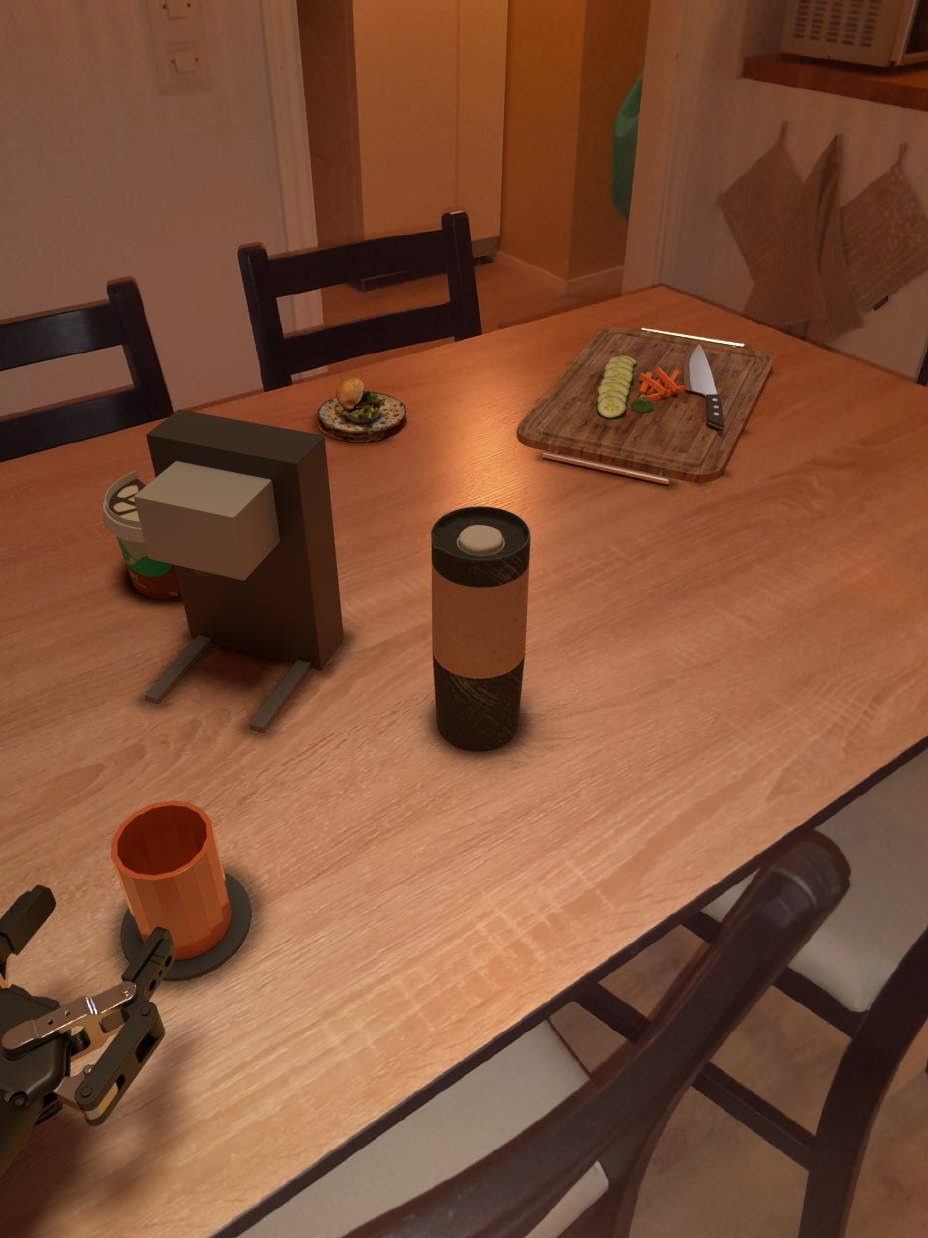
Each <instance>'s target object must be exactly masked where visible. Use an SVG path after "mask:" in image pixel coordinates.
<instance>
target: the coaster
mask: <svg viewBox="0 0 928 1238" xmlns="http://www.w3.org/2000/svg"><path fill="white" fill-rule="evenodd" d="M224 874H225V878H226V882H227V886H228V891H229V895H230V900H231V906H232V920H231V923H230V926H229V928H228V931H227V932H226V934H225V935H224V937H223V938H222V939H221V940H220V941H219V942H218V943H217V945H215V946H214V947H213V948H212V949H210V950H209V951H207V952H205V953H203V954H202V955H199V956H197V957H194V958H191V959H186V960H177V961H175V960H174V964H173V965H172V967H171V968H170V970H169V971H168V973H167V974H166V976H165V977H164V979H163V980H162V982H181V981H187V980H188V981H189V980H192V979H195V978H199V977H202V976H204V975H207V974H210V973H211V972H213V971H214V970H216V969H218V968H219V967H221V966H223V965H224V964H225V963H226V962H228V961H229V960H230V959H231V958H232V957H233V956H234V955H235V954H236V953H237V952H238V950H239V949H240V948H241V946H242V945H243V943H244V941H246V940H245V939H246V938H247V936H248V934H249V930H250V927H251V923H252V905H251V902H250V901H251V900H250V897H249V895H248V892H247V891H246V889H245V888H244V886H243V885H242V884H241V882H239V881H238V880H237V879H236V878H235V877H233V876H232V875H230V874H229V873H227V872H224ZM127 907H128V906H127ZM119 934H120V945H121V947H122V951H123V953H124V956H125V957H126V959H127V961H128V962H129V964H130V963H131V962H132V960H133V959H134V957H135V956H136V954H137V953H138V952H139V950H140V949H141V947H142V946H143V943H142V941H141V938H140V936H139V934H138V932H137V929H136V926H135V923H134V921H133V918H132V915H131V912H130V909H129V907H128V908H127V910H126V911H125V913H124V916H123V918H122V922H121V925H120V933H119Z"/></svg>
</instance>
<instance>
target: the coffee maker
mask: <svg viewBox="0 0 928 1238" xmlns="http://www.w3.org/2000/svg"><path fill="white" fill-rule="evenodd" d="M145 437H146V442H147V446H148V451H149V455H150V460H151V464H152V468H153V473H154V477H155V478H154V479H153V480H151V481H150V482H149V483H148V484H146V486H145V487H144V488H143V489H142V490H141V491H139V492H138V493H137V494H136V495H135V496H134V500H135V504H136V508H137V512H138V516H139V521H140V525H141V529H142V533H143V537H144V541H145V545H146V549H147V554H148V558H149V559H153V560H157V561H161V562H166V563H170V564H174V565H175V568H176V572H177V577H178V581H179V586H180V590H181V594H182V599H181V600H182V603H183V607H184V612H185V615H186V622H187V625H188V631H189V635H190V638H191V639H193V641H192V642H191V643H190V644H189V645H188V646H187V648H185V650H184V651H183V652H182V653H181V654H180V655H179V656H178V657H177V659H175V661H174V662H173V663H172V664H171V665H170V666H169V667H168V668H167V670H166V671H165V672H164V673H163V674H162V675H161V676H159V677H160V678H158V680H156V682H155V683H154V684H153V685H152V686H151V687H150V688H149V689H148V691H147V692H146V693H145V694H144V699H145V701H147V702H149V703H154V704H157V705H160V704H161V703H162V701H164V699H165V698H166V697H167V696H168V694H169V693H170V692H171V691H172V690H173V689H174V688H175V687H176V685H178V683H179V682H180V681H181V680H182V679H183V677H185V675H186V674H187V673H188V672H189V671H190V670H191V668H192V667H193V666H194V665H195V664H196V663H197V662H198V661H199V659H200V658H201V657H202V656H203V655H204V654H205V653H206V652H207V650H208V649H209V648H210V647H211V646H212V644H214V645H217V646H221V647H225V648H229V649H233V650H237V651H241V652H245V653H249V654H253V655H256V656H261V657H265V658H269V659H273V660H277V661H281V662H285V663H289V664H293V665H292V666H291V668H290V669H289V671H288V672H287V673H286V675H285V676H284V677H283V679H282V680H281V681H280V683H278V685H277V686H276V688H275V689H274V690H273V692H272V693H271V694H270V696H269V697H268V699H266V701H265V703H264V704H263V705H262V706H261V708H260V709H259V710H258V712H257V713H256V714H255V715H254V717H253V718H252V719H251V721H250V722H249V730H251V731H255V732H258V733H262V734H265V733H266V732H267V730H268V729H269V728H270V726H271V725H272V724H273V722H274V721H275V719H276V718H277V717H278V715H279V714H280V713H281V712H282V710H283V708H284V707H285V705H286V704H287V703H288V701H289V700H290V699H291V697H292V696H293V695H294V693H295V692H296V690H298V688H299V686H300V685H301V684H302V683H303V681H304V679H305V678H306V677H307V676H308V674H309V672H310V671H311V670H312V669H313V670H317V671H320V672H321V671H322V670H323V669H324V668H325V667H326V665H327V664H328V662H329V661H330V660H331V658H332V657H333V656H334V654H335V652H336V651H337V650H338V648H339V647H340V646H341V644H342V642H343V641H344V640H345V636H344V625H343V624H344V623H343V615H342V601H341V592H340V583H339V573H338V572H339V571H338V561H337V552H336V551H337V550H336V540H335V539H336V538H335V531H334V530H335V529H334V520H333V509H332V498H331V488H330V477H329V476H330V475H329V465H328V457H327V456H328V455H327V446H326V445H327V444H326V437H325V434H319V433H313V432H307V431H302V430H296V429H291V428H285V427H280V426H274V425H268V424H264V423H257V422H253V421H252V422H251V421H246V420H241V419H235V418H230V417H225V416H220V415H213V414H209V413H202V412H197V411H191V410H185V409H181V408H178V409H177V410H176V411H175V412H173V413H172V414H171V415H169V416H168V417H166V418H165V419H164V420H163V421H161V422H160V423H159V424H158V425H156V426H155V427H153V428H152V429H150V431H149V432H147V433H146V434H145Z"/></svg>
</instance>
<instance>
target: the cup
mask: <svg viewBox="0 0 928 1238" xmlns="http://www.w3.org/2000/svg"><path fill="white" fill-rule="evenodd" d="M110 858H111V859H110V860H111V861H112V864H113V867H114V870H115V872H116V875H117V878H118V880H119V884H120V887H121V889H122V892H123V895H124V898H125V901H126V903H127V907H129V909H130V912H131V915H132V918H133V921H134V923H135V926H136V929H137V932H138V934H139V936H140V938H141V941H142V943H143V944H144V943H145V942H146V940H147V939H148V937H149V936H150V934H151V933H152V932H153V930H154V929H155V928H156V927H157V926H159V927H162V928H165V929H168V930H170V933H171V936H172V939H173V942H174V951H175V954H176V955H175V961H177V960H186V959H191V958H194V957H197V956H199V955H202V954H203V953H205V952H207V951H209V950H210V949H212V948H213V947H214V946H215V945H217V943H218V942H219V941H220V940H221V939H222V938H223V937H224V935H225V934H226V932H227V931H228V928H229V926H230V923H231V920H232V906H231V900H230V895H229V891H228V886H227V882H226V878H225V874H224V873H225V870H224V866H223V862H222V857H221V853H220V850H219V846H218V841H217V838H216V834H215V830H214V825H213V822H212V820H211V818H210V817H209V815H208V814H207V813H206V812H205V810H204V809H203V808H200V807H198V806H197V805H195V804H193V803H191V802H189V801H181V800H179V801H178V800H167V801H161V802H154V803H152V804H148V805H147V806H145V807H143V808H141V809H139V810H137V811H135V812H132V814H131V815H129V816H128V817H127V819H125V820H124V821H123V822H122V823H121V824H120V825H119V826H118V827H117V829H116V831H115V834H114V835H113V838H112V839H111V841H110Z"/></svg>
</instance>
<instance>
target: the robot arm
mask: <svg viewBox="0 0 928 1238" xmlns="http://www.w3.org/2000/svg"><path fill="white" fill-rule="evenodd" d="M56 907H57V900H56V898H55V896H54V893H53V891H52V889H51V888H50V887H48V886H46V885H43V884H36V885H35V886H34V887H33V888H32V889H31V890H26V891H25V892H24V893H22V894H21V895H19V896H18V897H17V899H16V900H15V901H14V902H13V904H12V905H11V906H10V907H9V908H8V909H7V910H6V912H5V913H4V914H3V915H2V916H1V917H0V1180H1V1179H2V1178H3V1176H4V1175H5V1173H6V1171H8V1169H9V1167H10V1166H11V1164H12V1163H13V1161H14V1160H15V1158H16V1157H17V1155H19V1153H20V1151H21V1150H22V1149H23V1147H24V1145H25V1144H26V1143H27V1141H28V1139H29V1137H30V1134H31V1133H32V1131H33V1128H34V1126H35V1124H36V1123H37V1121H38V1119H39V1117H40V1116H41V1115H42V1114H43V1113H44V1112H45V1111H46V1110H47V1109H48V1108H50V1107H51V1106H53V1105H54V1104H56V1103H58V1102H60V1103H62V1104H64V1105H66V1106H68V1107H70V1108H72V1109H74V1110H76V1111H78V1112H79V1113H81V1114H82V1117H83V1118H84V1120H85V1122H86V1123H87V1125H89V1126H91V1127H98V1126H101V1125H102V1124H104V1123H105V1122H106V1121H107V1120H108V1118H109V1117H110V1115H111V1114H112V1113H113V1112H114V1110H115V1108H116V1107H117V1105H118V1104H119V1102H120V1101H121V1100H122V1098H123V1097H124V1095H125V1094H126V1093H127V1091H128V1090H129V1088H130V1087H131V1085H132V1084H133V1083H134V1081H135V1080H136V1078H137V1077H138V1076H139V1074H140V1073H141V1071H142V1070H143V1068H144V1067H145V1065H146V1064H147V1062H148V1061H149V1060H150V1058H151V1057H152V1056H153V1054H154V1053H155V1051H156V1049H157V1048H158V1047H159V1045H160V1044H161V1043H162V1041H163V1039H164V1038H165V1036H166V1028H165V1026H164V1023H163V1020H162V1017H161V1015H160V1012H159V1009H158V1006H157V1004H155V1002H153V1001H151V998H152V997H153V995H154V994H155V993H156V991H157V990H158V988H159V986H160V985H161V983H162V982H163V979H164V977H165V976H166V974H167V973H168V971H169V970H170V968H171V967H172V965H173V964H174V960H175V955H176V954H175V951H174V942H173V939H172V936H171V933H170V930H168V929H165V928H162V927H159V926H157V927H156V928H155V929H154V930H153V932H152V933H151V934H150V936H149V937H148V939H147V940H146V942H145V943H144V944H143V946H142V947H141V949H140V950H139V952H138V953H137V954H136V956H135V957H134V959H133V960H132V962H131V963H130V962H129V965H128V966H127V967H126V969H125V970H124V972H122V974H121V976H120V979H121V980H122V981H121V982H120V983H118V984H116V985H114V986H112V987H110V988H108V989H106V990H104V991H102V992H100V993H98V994H96V995H93V996H87V995H86V996H80V997H77V998H76V999H74V1000H72V1001H70V1002H68V1003H66V1004H63V1005H62V1006H61V1005H60V1002H59V1001H58V1000H55V999H53V998H50V997H47V996H37V995H33V994H31V993H30V992H28V991H27V990H26V989H25V988H24V987H21V986H19V985H17V984H13V983H11V985H9V969H10V958H9V957H10V956H11V954H12V955H15V956H19V955H20V954H21V953H22V951H23V950H24V948H25V947H26V946H27V945H28V944H29V942H30V941H31V940H32V939H33V938H34V936H35V935H36V933H37V932H38V931H39V930H40V929H41V927H42V926H43V925H44V924H45V923H46V922H47V921H48V919H49V917H51V915H52V914H53V913H54V911H55V909H56ZM76 1027H82V1029H81V1030H80V1031H78V1032H76V1033H74V1034H73V1033H72V1032H73V1031H72V1030H73V1028H76ZM113 1035H115V1036H114V1038H113V1039H112V1040H111V1041H110V1043H109V1044H108V1046H107V1047H106V1048H105V1050H104V1052H103V1053H102V1054H101V1055H100V1057H99V1058H98V1059H97V1061H96V1062H95V1063H94V1064H93V1063H92V1064H89V1063H88V1064H86V1065H84V1066H83V1068H82V1070H81V1071H80V1072H79V1073H77V1074H75V1075H73V1076H71V1069H72V1068H71V1066H72V1063H73V1062H75V1061H77V1060H79V1059H81V1058H83V1057H86V1056H87V1055H88V1054H91V1053H92V1052H94V1051H96V1050H98V1049H100V1048H102V1047H103V1046H104V1045H105V1044H106V1043H107V1042H108V1039H109V1038H111V1037H112V1036H113Z"/></svg>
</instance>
